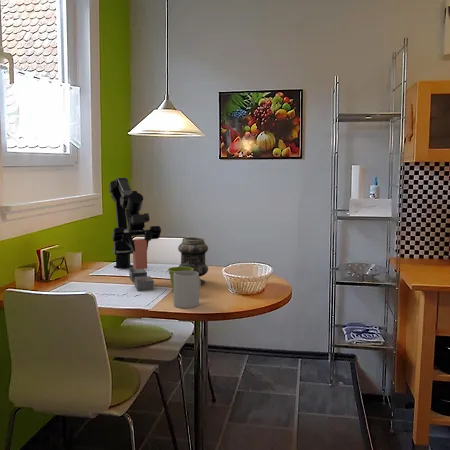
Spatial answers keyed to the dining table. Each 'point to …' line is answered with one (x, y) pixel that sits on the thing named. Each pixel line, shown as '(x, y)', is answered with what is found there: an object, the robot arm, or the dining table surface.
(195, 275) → the mug
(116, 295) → the dining table surface
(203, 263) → the apothecary jar
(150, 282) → the gray block
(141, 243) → the pink rectangular block
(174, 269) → the plant pot
